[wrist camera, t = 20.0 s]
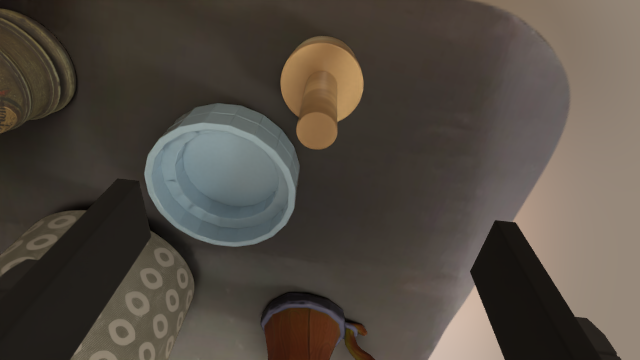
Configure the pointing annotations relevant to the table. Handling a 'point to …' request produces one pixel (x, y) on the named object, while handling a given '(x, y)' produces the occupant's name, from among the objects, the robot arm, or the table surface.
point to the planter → (123, 295)
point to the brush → (321, 88)
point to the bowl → (224, 175)
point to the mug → (308, 329)
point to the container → (31, 71)
